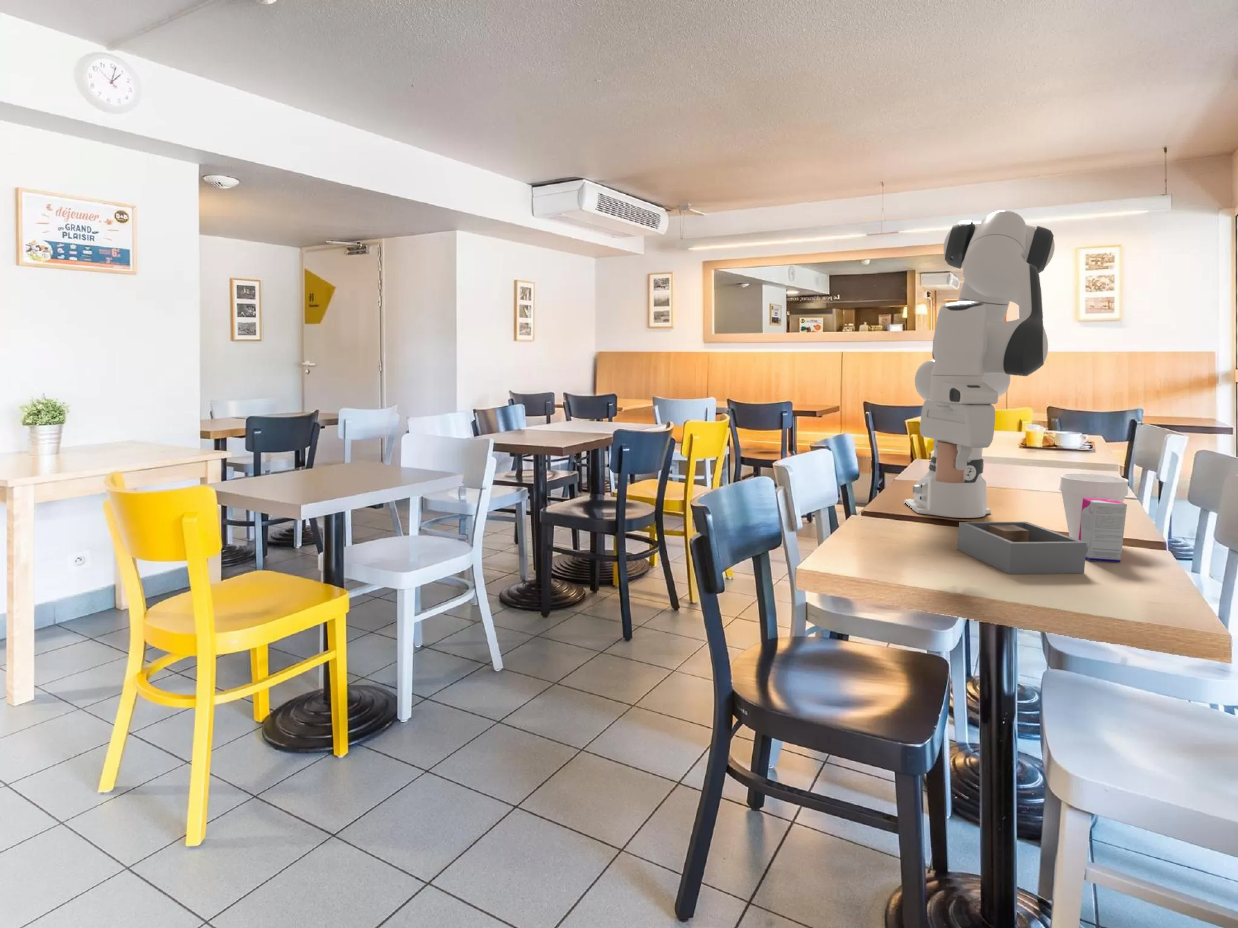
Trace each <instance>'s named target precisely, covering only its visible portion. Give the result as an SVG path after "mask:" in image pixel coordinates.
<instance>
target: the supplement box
mask: <svg viewBox="0 0 1238 928" xmlns="http://www.w3.org/2000/svg"><path fill="white" fill-rule="evenodd" d="M1127 506H1128V504H1126V503H1124V502H1123V503H1122V502H1119V501H1116V500H1113V499H1095V498H1083V502H1082V511H1081V521H1080V530H1079V539H1078V540H1080V541H1083V542H1086V543H1087V546H1086V557H1085V561H1088V562H1098V563H1099V562H1101V563H1102V562H1104V563H1106V562H1107V563H1121V560H1122V552H1123V543H1124V534H1125V525H1126V524H1125V523H1126V517H1127V515H1126V514H1127Z"/></svg>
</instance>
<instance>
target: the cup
mask: <svg viewBox="0 0 1238 928" xmlns="http://www.w3.org/2000/svg"><path fill="white" fill-rule="evenodd" d="M1129 482H1130V481H1129V479H1127V478H1124V477H1119V476H1115V475H1104V474H1094V473H1093V474H1092V473H1064V474H1061V475H1060V483H1059V489H1058V490H1060V492H1061V496H1062V504H1063V509H1064V513H1065V519H1066V525H1067V531H1068V536H1069V537H1072V538H1074V539H1077V540H1078V539H1079V530H1080V521H1081V511H1082V502H1083V498H1095V499H1113V500H1116V501H1119V502H1122V503H1124V500H1125V498H1126V497H1127V496H1128V495H1129V493H1128V492H1129Z"/></svg>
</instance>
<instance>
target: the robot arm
mask: <svg viewBox="0 0 1238 928" xmlns="http://www.w3.org/2000/svg"><path fill="white" fill-rule="evenodd" d="M1054 236H1055V235H1054V234H1053V232H1052V230H1051V229H1048V228H1046V227H1043V226H1040V225H1036V226H1032V225H1028V224H1026V221H1025V219H1024V218H1023V217H1022V216H1021V215H1019V214H1018V213H1016V212H1014V211H1011V210H997V211H994V212H992V213H990V214H988V215H987V216H985V217H984V218H983V219H982V220H981V221H973V219H967V220H960V221H958V222H957V223H955V224H954V225H952V227H951V229H950V230H949V231H948V233H947V234H946V237H945V239H944V243H943V255H944V261H945V262H946V264H947V265H948V266H951V267H954V268H956V269H960V270H961V268H962V275H963V278H964V280H963V282H962V285H961V289H960V292H959V295H958V299H957V301H952V302H947V303H944V305H941V307H940V308H939V311H938V314H937V318H936V322H935V328H934V335H933V340H932V354H931V355H932V359H930V360H927V361H925V362H923V363H922V364H920V366H918V368H917V371H916V372H915V374H914V375H915V377H914V385H915V386H914V387H915V389H916V392H917V393H918V395H919V396H920V397H922V399H923V400H924V402H923V404H922V408H921V413H920V415H921V416H920V421H919V433H920V436H921V437H923V438H927V439H931V440H933V455H932V456H931V457H929V459H930V460H929V466H928V469H929V470H928V471H927V472H926V473H925V474H924V475H923V476H922V477H921V478H920V479H919V480H917V481H916V483H915V484H914V485H912V494H913V498H906V499H904V500H903V501H904V502H903V503H904V504H905V503H906V504H907V505H908V506H907V505H906V504H905V505H906V506H907V507H909V506H910V507H909V508H910V509H911V508H912V509H911V510H913V511H914V512H915V513H917V514H922V515H923V514H924V515H933V516H938V517H945V518H957V519H958V518H960V519H964V518H965V519H966V518H967V519H969V518H970V519H971V518H972V519H973V518H974V519H975V518H981V517H982V518H983V517H986V515H988V514H991V508H989V507H987V506H988V505H987V503H988V502H987V496H988V495H987V481H986V479H985V478H984V477H983V476H982V474H983V473H984V467H985V465H984V458H983V449H984V448H985V449H986V448H989V447H990V446H991V444H992V442H993V440H994V433H995V426H996V425H995V424H996V409H995V407H994V405H997V403H998V402H999V398H1000V397H1001V396H1003V395H1004V394H1005V393H1006V392H1007V390H1008V389H1009V386H1010V384H1011V376H1019V377H1028V376H1030V375H1032V374H1033V373H1034V372H1036V371H1037V370H1039V369H1041V367H1043V366H1044V364H1045V362H1046V360H1047V357H1048V351H1049V343H1048V341H1049V340H1048V336H1047V332H1046V329H1045V327H1044V311H1043V309H1044V308H1043V297H1042V294H1043V293H1042V287H1041V278H1040V274H1041V273H1042V272H1043V271H1045V269H1046V268H1047V266H1048V265H1049V264H1050V263H1051V261H1052V259H1053V256H1054V254H1055V253H1054V252H1055V247H1056V246H1055V240H1054ZM1010 302H1011V303H1013V304H1014V303H1015V304H1016V305H1017V306H1018V316H1019V317H1018V318H1017V319H1014V320H1007V321H1005V320H1006V316H1007V313H1008V309H1009V307H1010ZM938 442H949V443H953V444H957V451H958V454H957V457H956V459H954V461H953V463H954V464H953V468H955V469H958V470H965V481H964V483H945V482H938V481H935V473H936V458H937V444H938Z"/></svg>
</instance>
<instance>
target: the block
mask: <svg viewBox="0 0 1238 928" xmlns="http://www.w3.org/2000/svg"><path fill="white" fill-rule="evenodd" d="M989 532H990V533H992V534H995V535H997V536H1000V537H1002V538H1004V539H1007V540H1009V541H1012V542H1028V536H1029V530H1026V529H1023V528H1020V527H1018V526H1015V525H989Z"/></svg>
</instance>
